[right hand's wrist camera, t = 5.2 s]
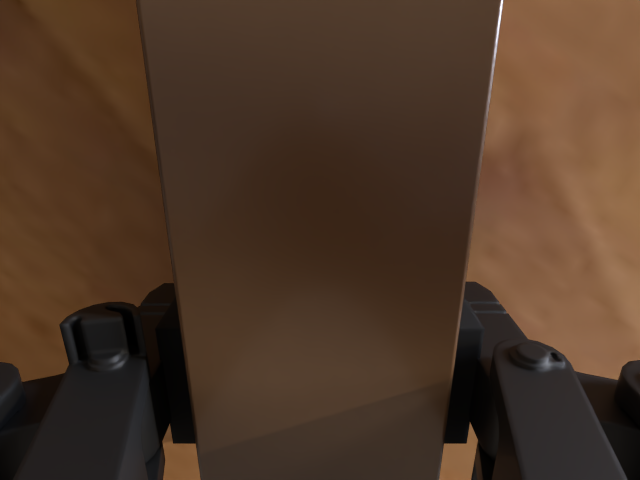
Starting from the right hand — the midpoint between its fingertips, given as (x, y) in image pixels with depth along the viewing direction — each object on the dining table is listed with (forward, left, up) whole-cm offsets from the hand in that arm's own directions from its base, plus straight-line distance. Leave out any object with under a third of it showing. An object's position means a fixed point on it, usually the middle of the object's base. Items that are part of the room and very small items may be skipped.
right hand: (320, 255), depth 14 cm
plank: (-8, -25, -1) cm, 26 cm away
